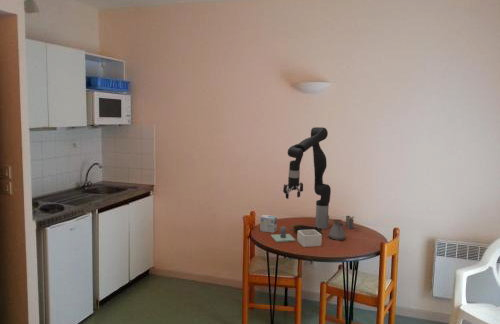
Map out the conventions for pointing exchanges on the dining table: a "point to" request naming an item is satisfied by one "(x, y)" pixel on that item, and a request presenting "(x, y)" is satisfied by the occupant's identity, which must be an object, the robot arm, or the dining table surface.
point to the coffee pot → (337, 230)
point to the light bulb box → (268, 223)
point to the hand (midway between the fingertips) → (292, 197)
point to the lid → (283, 236)
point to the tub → (309, 238)
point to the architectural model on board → (349, 222)
